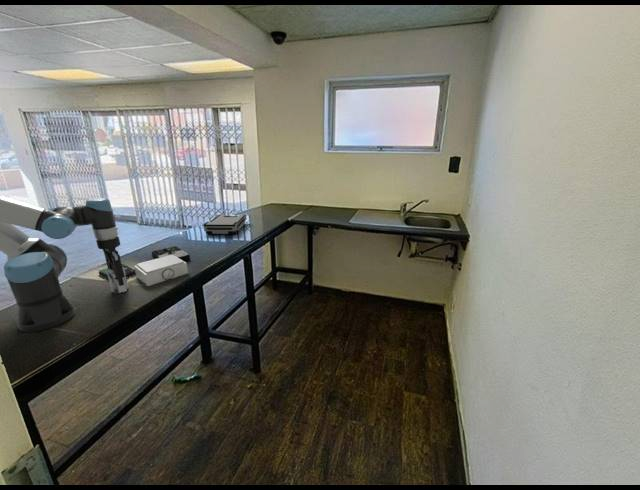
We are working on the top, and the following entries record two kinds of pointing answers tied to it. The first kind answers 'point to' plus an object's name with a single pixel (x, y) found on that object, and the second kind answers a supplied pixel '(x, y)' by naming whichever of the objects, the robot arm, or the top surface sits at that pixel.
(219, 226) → the game console
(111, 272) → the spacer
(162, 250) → the multimeter
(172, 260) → the scale
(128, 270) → the disk drive
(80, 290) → the top surface
